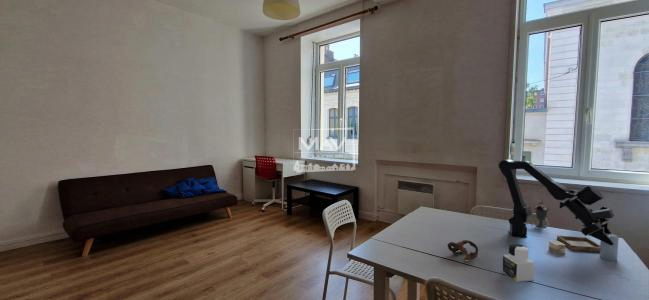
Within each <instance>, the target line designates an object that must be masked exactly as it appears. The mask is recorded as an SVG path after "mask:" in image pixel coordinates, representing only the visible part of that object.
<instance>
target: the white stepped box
mask: <svg viewBox="0 0 649 300" xmlns="http://www.w3.org/2000/svg"><path fill="white" fill-rule="evenodd" d="M529 252H530V250H529V248H528V247H527V246H526V245H524V244H520V243H510V244H509V245H508V254H503V255H502V273H503V274H505V275H506V276H507V277H509V278H510V279H511V280H513V281H514V282H517V283H518V282H519V283H520V282H532V281H534V280H535V262H534V261H533V260H531V259H530V258H529Z"/></svg>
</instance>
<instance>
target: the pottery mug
mask: <svg viewBox="0 0 649 300" xmlns="http://www.w3.org/2000/svg"><path fill="white" fill-rule="evenodd" d="M467 244H468V245H469V246H471V247H473V248H474V249H475V251H473V252H472V251H471V252H469V253H468V250H467V248H466V247H464V245H467ZM447 248H448V250H449V251H450V252H452V254H453V255H456V253H457V252H461V253H462V254H463V255H464V256H465V257H464V258H463V260H464V261H465V260H469V261H470V260H474V259H476V258H478V254H479V247H478V246H477V244H475V242H473V241H471V240H468V239H463V240H461V241H459V242H454V241H450V242H448V243H447ZM458 250H460V251H458ZM456 251H457V252H456Z"/></svg>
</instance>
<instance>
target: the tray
mask: <svg viewBox="0 0 649 300" xmlns="http://www.w3.org/2000/svg"><path fill="white" fill-rule="evenodd" d="M556 241H559V242H561V243H563V244H565V245H566V247H567V248H568V249H570V251H580V252H581V251H582V252H591V253H600V244H598V243H597V242H595V241H594V240H592V239H590V238H589V237H587V236H570V235H556Z"/></svg>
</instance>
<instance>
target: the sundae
mask: <svg viewBox="0 0 649 300" xmlns="http://www.w3.org/2000/svg"><path fill="white" fill-rule="evenodd" d="M534 210H535V215H536V216H535V217H536V218H537V219H538V221H539V223H537V224H535V227H537V228H540V229H546V228H547V226H546V225H544V224H543V221H544V220H546V219H547V214H548V212H549V211H550V209H549V208H548V207H547V206H545V203H544V201H543V199H541V202H539V203H538V204H537V205H536V206H534Z"/></svg>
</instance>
